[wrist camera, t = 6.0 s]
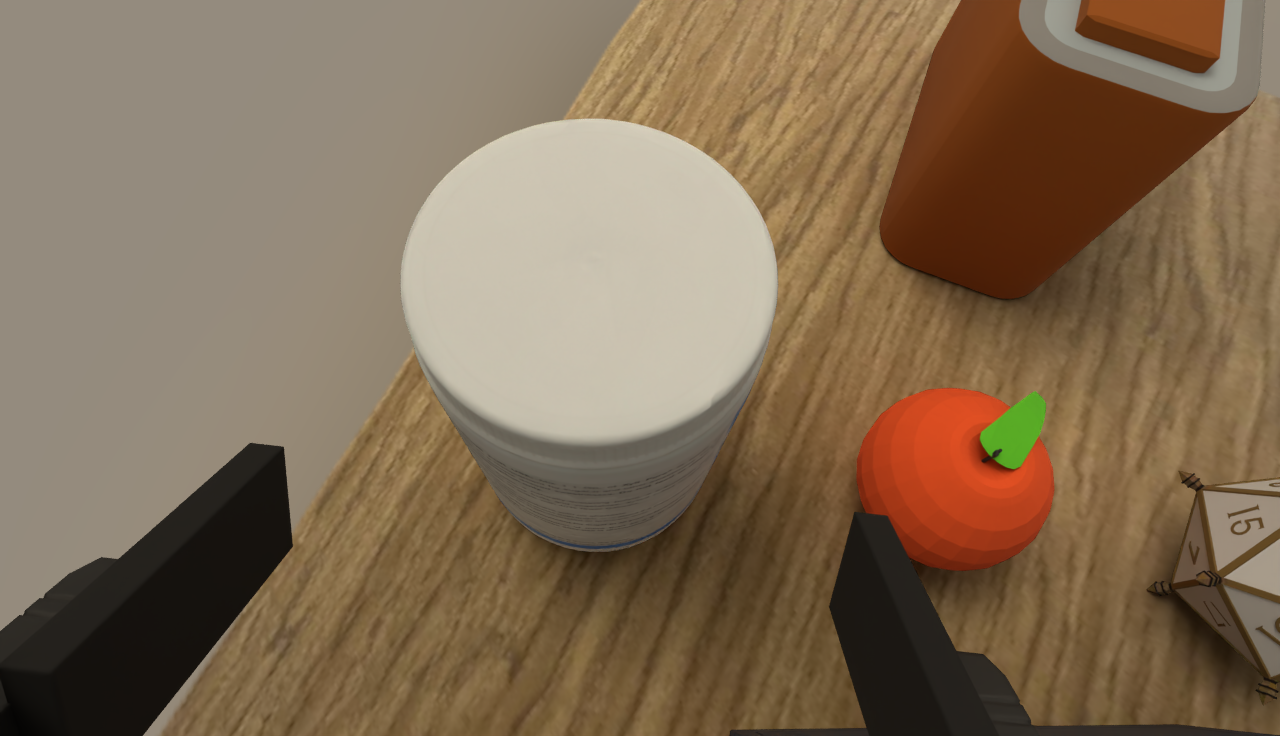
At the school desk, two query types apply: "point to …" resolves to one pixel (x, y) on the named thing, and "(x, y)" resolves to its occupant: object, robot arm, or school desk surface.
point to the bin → (1048, 734)
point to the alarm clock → (1059, 127)
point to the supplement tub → (591, 321)
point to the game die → (1235, 569)
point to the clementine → (958, 476)
